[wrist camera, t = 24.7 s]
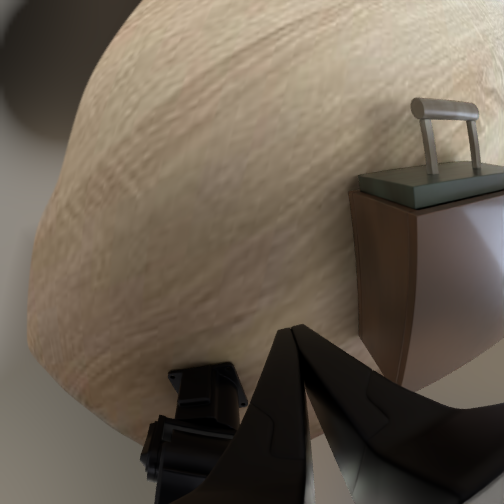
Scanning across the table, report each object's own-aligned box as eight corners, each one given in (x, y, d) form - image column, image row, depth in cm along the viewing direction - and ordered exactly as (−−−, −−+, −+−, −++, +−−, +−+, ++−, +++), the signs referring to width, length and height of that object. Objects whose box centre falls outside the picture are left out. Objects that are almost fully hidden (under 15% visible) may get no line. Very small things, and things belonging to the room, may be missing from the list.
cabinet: (347, 191, 19) (416, 216, 11) (465, 171, 19) (533, 187, 11) (358, 336, 24) (398, 400, 15) (460, 295, 23) (508, 334, 15)
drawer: (344, 108, 16) (396, 89, 10) (459, 108, 16) (513, 105, 10) (368, 320, 22) (404, 369, 16) (464, 282, 22) (505, 312, 15)
